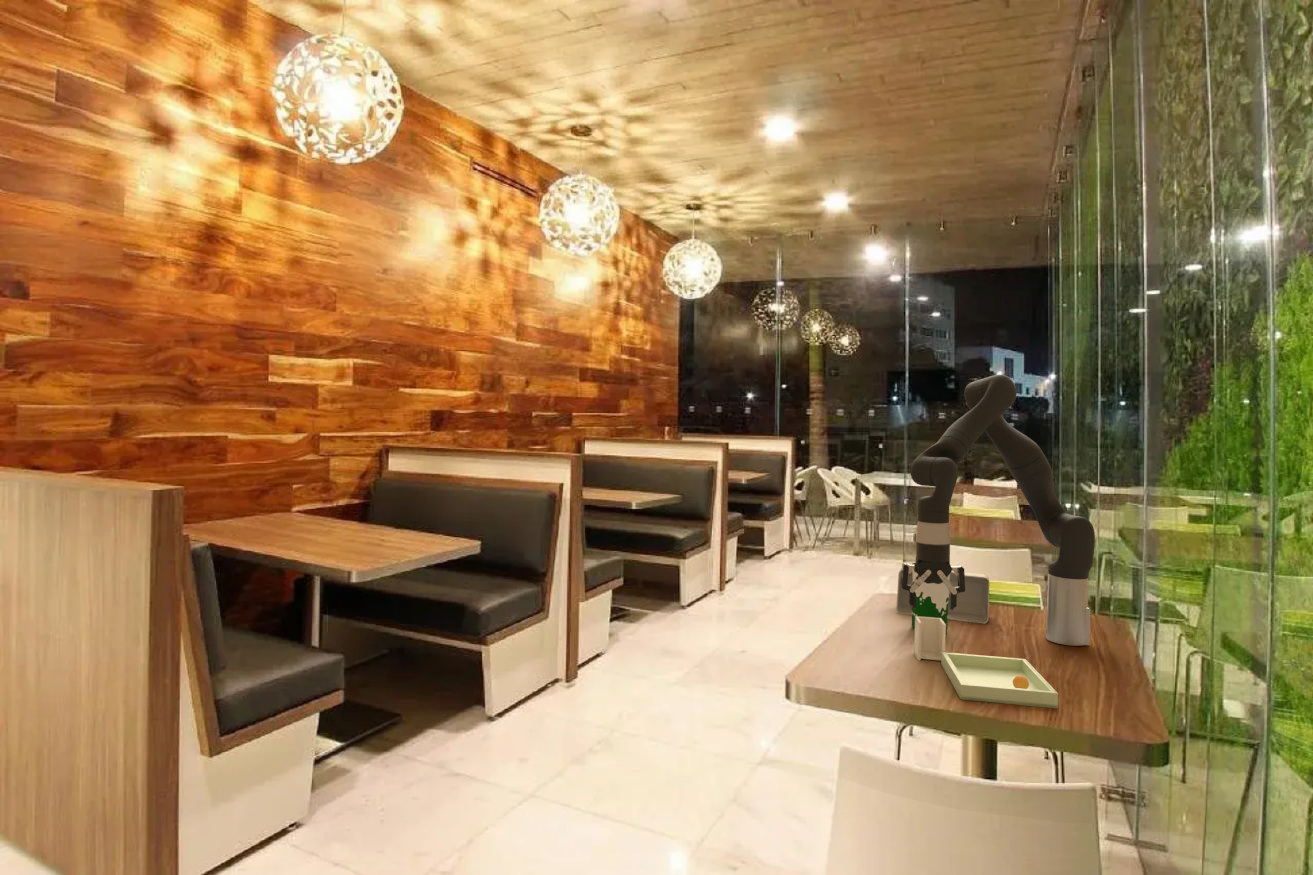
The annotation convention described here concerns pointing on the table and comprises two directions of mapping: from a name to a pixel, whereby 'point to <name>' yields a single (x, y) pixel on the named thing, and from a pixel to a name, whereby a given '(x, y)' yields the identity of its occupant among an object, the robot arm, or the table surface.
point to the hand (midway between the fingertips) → (932, 608)
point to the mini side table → (929, 638)
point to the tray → (997, 680)
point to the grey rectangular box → (968, 603)
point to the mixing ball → (1020, 682)
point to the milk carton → (931, 601)
